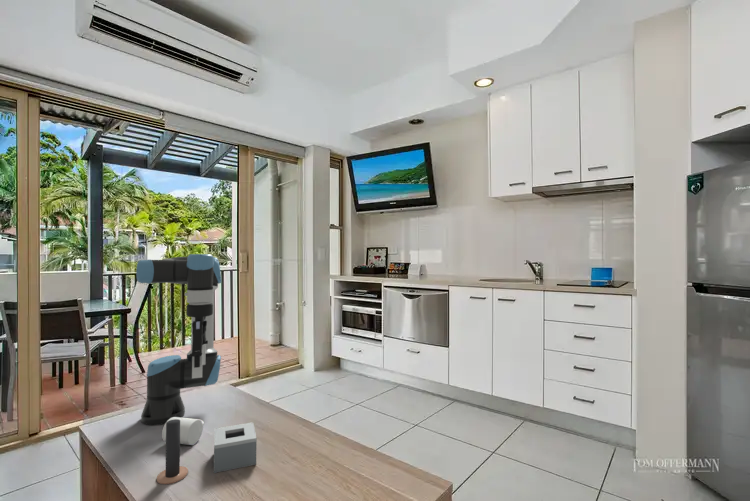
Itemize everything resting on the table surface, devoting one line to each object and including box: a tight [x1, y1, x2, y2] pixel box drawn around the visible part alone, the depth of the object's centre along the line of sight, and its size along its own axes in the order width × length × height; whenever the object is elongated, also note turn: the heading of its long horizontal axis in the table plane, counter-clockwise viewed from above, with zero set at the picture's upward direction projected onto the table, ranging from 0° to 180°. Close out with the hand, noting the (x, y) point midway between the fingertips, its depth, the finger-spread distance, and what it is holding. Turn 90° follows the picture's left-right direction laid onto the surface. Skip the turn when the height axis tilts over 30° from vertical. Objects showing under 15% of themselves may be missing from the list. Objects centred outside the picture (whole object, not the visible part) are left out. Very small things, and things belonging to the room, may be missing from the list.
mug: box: [161, 417, 205, 446], centre depth 130 cm, size 12×10×8 cm
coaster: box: [156, 465, 189, 485], centre depth 108 cm, size 8×8×1 cm
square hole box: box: [213, 421, 258, 474], centre depth 117 cm, size 12×12×8 cm
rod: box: [165, 419, 181, 478], centre depth 108 cm, size 4×4×15 cm
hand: (199, 370), depth 116 cm, fingers open, 13 cm apart
